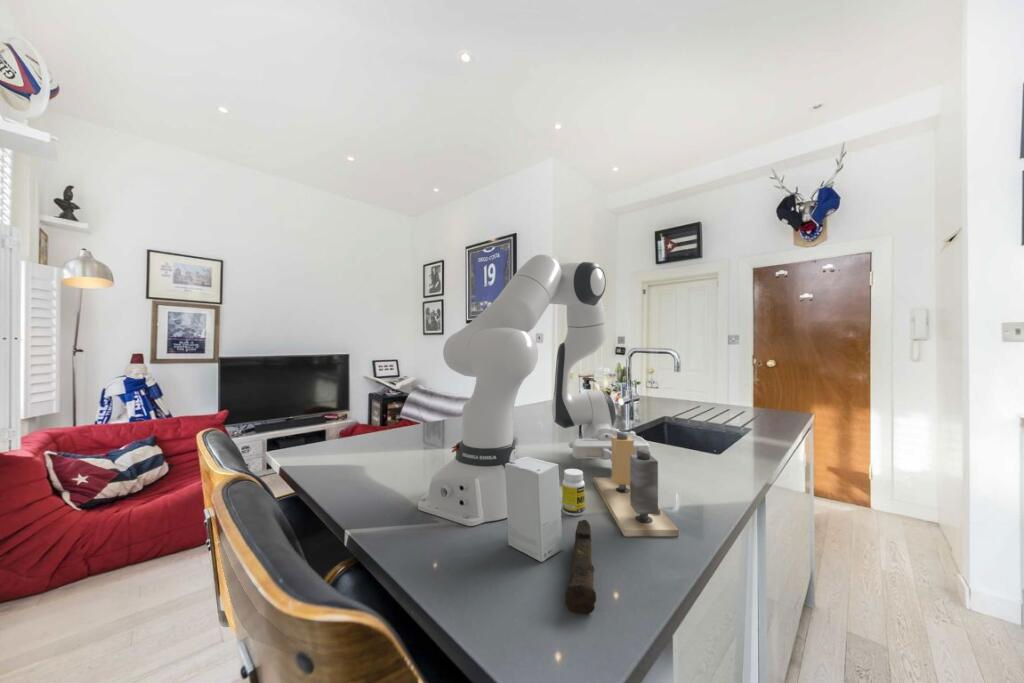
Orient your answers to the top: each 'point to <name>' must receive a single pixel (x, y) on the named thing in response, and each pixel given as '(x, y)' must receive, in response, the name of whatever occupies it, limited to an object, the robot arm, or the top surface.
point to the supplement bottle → (573, 492)
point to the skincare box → (533, 507)
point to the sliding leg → (621, 459)
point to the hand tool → (581, 573)
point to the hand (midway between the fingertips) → (617, 458)
